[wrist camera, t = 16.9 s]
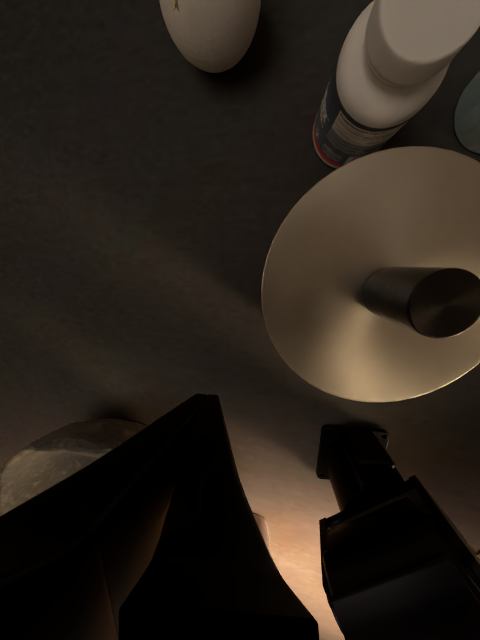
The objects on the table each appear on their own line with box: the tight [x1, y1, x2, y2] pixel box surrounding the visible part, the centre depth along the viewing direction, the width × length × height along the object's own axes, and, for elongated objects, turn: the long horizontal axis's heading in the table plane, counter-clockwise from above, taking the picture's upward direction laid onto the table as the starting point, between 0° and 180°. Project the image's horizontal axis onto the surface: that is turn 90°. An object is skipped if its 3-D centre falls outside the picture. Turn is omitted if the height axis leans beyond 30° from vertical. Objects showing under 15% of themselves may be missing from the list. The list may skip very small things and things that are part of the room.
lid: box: [261, 146, 480, 402], centre depth 9 cm, size 12×12×5 cm
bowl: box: [0, 418, 147, 516], centre depth 22 cm, size 18×18×8 cm
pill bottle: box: [313, 0, 480, 169], centre depth 12 cm, size 5×5×9 cm
